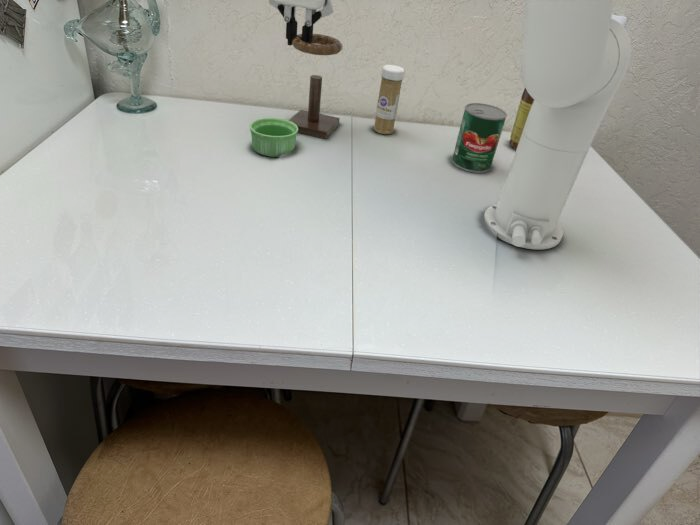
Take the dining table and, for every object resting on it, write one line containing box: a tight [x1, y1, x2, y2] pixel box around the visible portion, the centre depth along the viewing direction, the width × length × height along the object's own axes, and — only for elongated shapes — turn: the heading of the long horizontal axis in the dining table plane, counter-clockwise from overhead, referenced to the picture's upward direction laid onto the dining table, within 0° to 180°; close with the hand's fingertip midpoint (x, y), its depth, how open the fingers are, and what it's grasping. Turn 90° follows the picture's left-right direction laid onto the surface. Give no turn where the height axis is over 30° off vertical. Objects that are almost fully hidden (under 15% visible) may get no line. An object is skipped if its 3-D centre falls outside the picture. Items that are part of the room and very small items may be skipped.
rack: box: [288, 74, 340, 140], centre depth 101 cm, size 9×9×10 cm
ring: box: [292, 33, 343, 56], centre depth 95 cm, size 10×10×2 cm
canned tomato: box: [451, 102, 508, 174], centre depth 95 cm, size 8×8×11 cm
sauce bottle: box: [509, 87, 534, 150], centre depth 103 cm, size 6×6×20 cm
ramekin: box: [249, 117, 299, 158], centre depth 93 cm, size 9×9×4 cm
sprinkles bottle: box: [373, 64, 405, 135], centre depth 103 cm, size 5×5×14 cm
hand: (298, 44), depth 96 cm, fingers closed on ring, 2 cm apart
